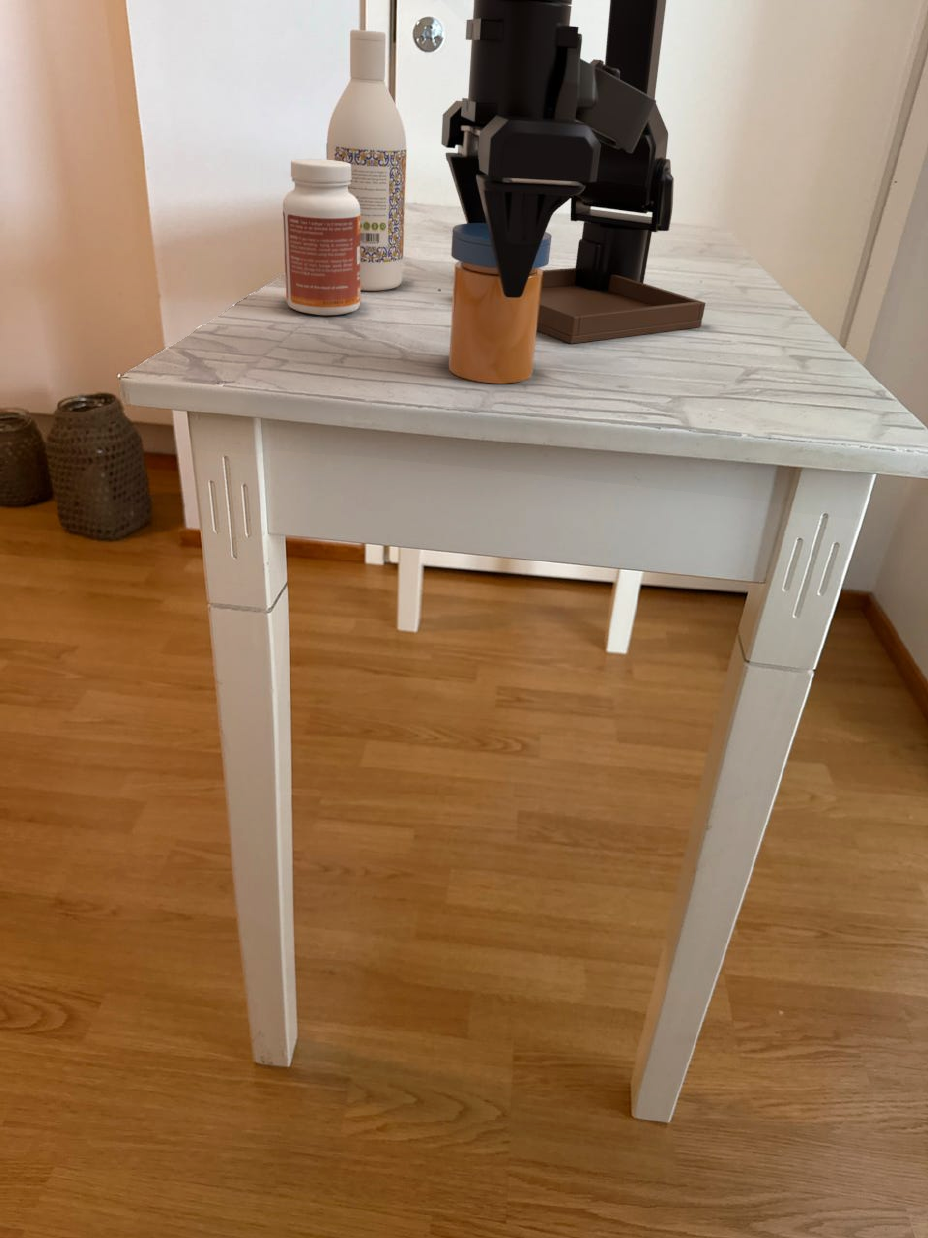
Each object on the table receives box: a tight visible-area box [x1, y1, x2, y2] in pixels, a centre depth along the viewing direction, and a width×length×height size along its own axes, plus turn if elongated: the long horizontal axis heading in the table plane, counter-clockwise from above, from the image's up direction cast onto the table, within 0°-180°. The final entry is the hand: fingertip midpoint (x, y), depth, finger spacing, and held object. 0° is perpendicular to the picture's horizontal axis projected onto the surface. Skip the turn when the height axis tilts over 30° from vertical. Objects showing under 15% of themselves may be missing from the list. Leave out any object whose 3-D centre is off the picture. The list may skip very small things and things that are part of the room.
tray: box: [537, 267, 706, 345], centre depth 80 cm, size 15×15×2 cm
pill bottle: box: [282, 158, 361, 316], centre depth 73 cm, size 6×6×11 cm
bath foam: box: [325, 29, 408, 292], centre depth 79 cm, size 7×7×20 cm
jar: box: [448, 260, 544, 385], centre depth 62 cm, size 6×6×8 cm
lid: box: [450, 222, 552, 269], centre depth 59 cm, size 7×6×2 cm
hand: (499, 281), depth 60 cm, fingers open, 8 cm apart
